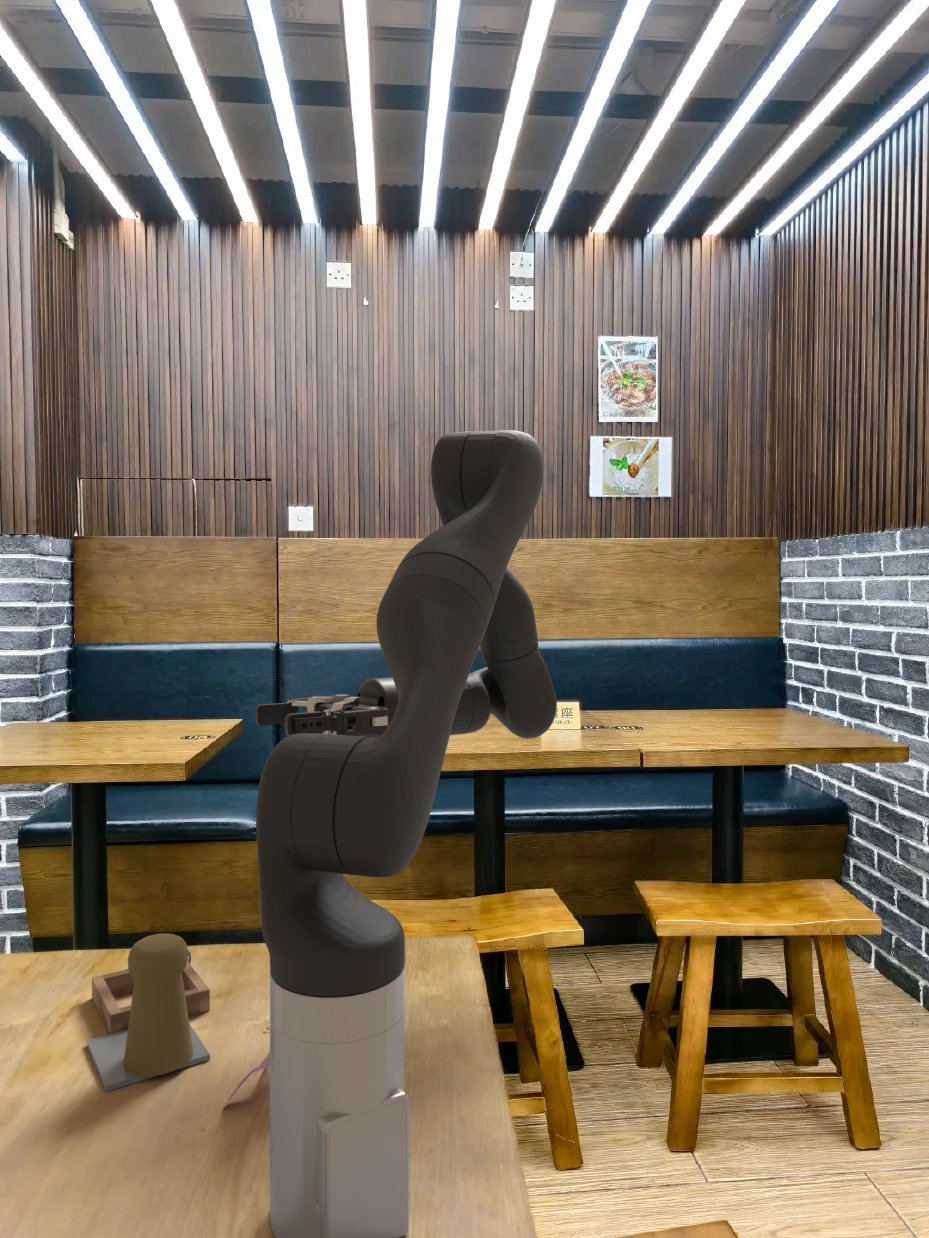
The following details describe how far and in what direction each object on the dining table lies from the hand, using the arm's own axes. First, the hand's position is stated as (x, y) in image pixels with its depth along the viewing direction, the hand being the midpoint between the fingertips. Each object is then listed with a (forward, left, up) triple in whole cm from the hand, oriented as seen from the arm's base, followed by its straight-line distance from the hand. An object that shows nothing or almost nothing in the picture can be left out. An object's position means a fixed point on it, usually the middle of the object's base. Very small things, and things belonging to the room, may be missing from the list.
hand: (270, 720), depth 87 cm
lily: (-15, +5, -30) cm, 34 cm away
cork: (-5, +13, -30) cm, 33 cm away
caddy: (+7, +11, -30) cm, 33 cm away
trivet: (-3, +13, -30) cm, 33 cm away
